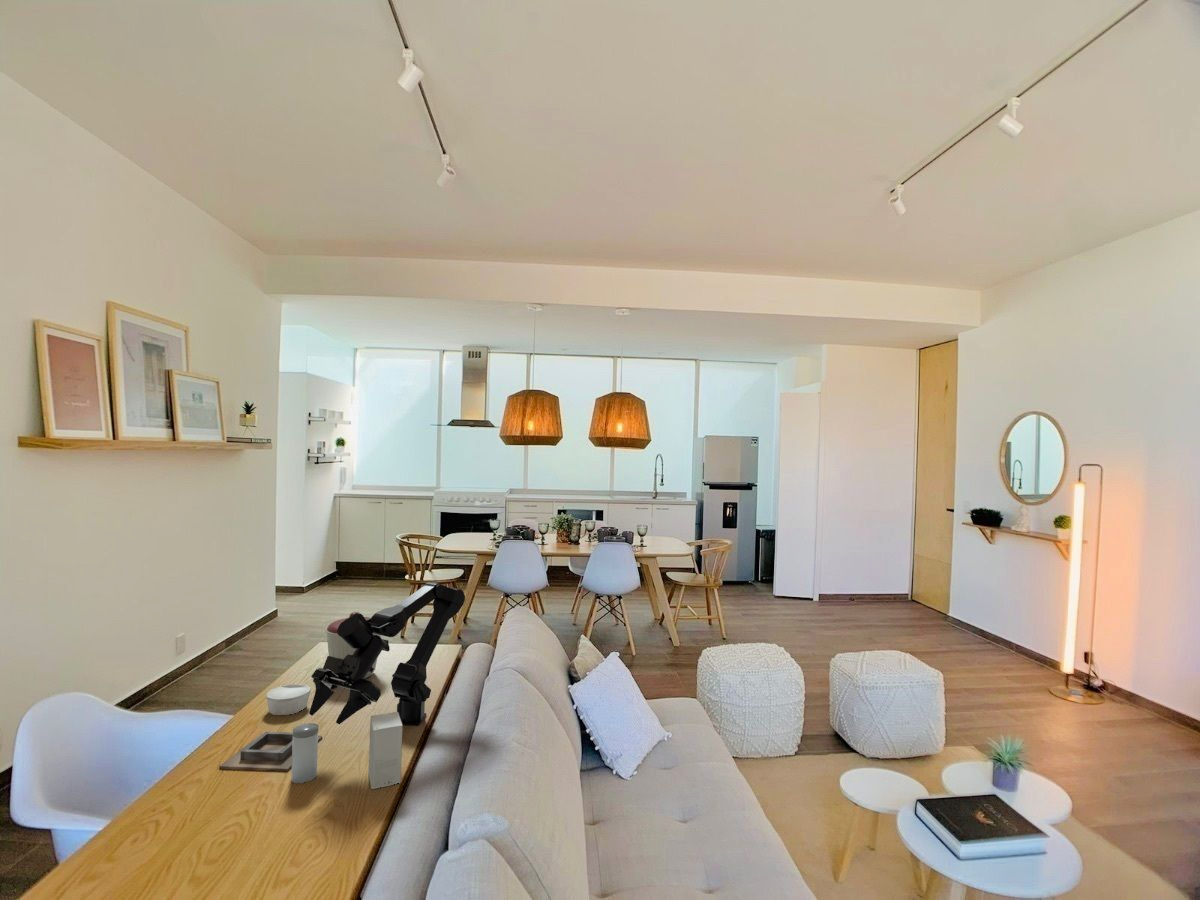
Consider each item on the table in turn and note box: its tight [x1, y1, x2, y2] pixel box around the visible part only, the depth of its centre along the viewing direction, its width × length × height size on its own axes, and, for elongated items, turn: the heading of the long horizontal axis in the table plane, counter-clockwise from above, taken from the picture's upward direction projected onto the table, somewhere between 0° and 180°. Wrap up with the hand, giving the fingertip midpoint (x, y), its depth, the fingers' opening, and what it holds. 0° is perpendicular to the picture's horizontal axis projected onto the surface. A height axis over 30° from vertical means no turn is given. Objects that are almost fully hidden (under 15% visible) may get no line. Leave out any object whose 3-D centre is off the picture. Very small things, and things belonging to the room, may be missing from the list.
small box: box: [367, 711, 404, 790], centre depth 133 cm, size 8×6×13 cm
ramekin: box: [265, 683, 312, 716], centre depth 166 cm, size 11×11×5 cm
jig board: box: [218, 731, 323, 772], centre depth 142 cm, size 16×16×3 cm
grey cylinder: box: [290, 722, 319, 784], centre depth 132 cm, size 5×5×11 cm
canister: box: [324, 611, 382, 679], centre depth 192 cm, size 18×18×21 cm
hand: (323, 719), depth 136 cm, fingers open, 9 cm apart
